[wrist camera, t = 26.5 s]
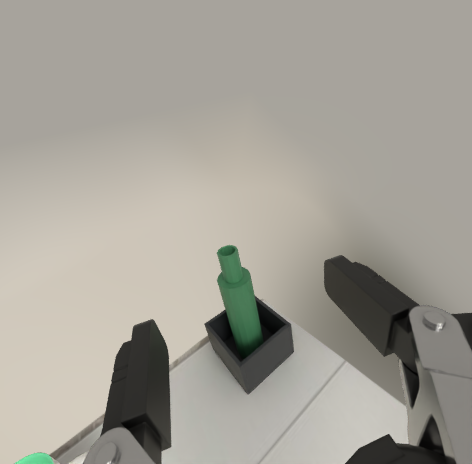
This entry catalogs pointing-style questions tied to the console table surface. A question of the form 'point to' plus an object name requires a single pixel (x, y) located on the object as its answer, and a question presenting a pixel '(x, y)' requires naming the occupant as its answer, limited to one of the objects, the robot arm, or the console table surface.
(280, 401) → the console table surface
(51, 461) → the mug
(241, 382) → the bin
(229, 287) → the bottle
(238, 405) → the console table surface
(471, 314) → the robot arm
